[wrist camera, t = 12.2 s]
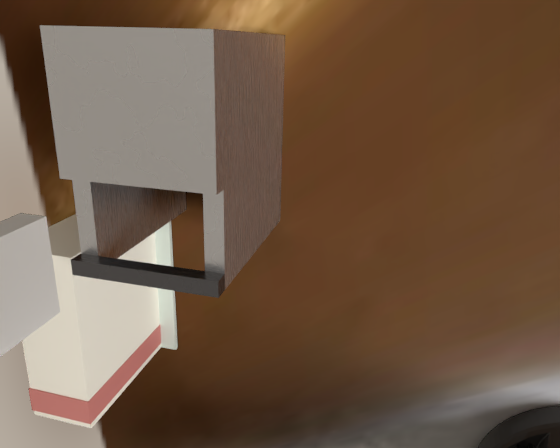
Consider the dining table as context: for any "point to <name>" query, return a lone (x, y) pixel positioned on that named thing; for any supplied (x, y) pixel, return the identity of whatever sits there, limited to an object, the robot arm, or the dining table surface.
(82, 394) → the pink-banded white block
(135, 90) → the dispenser
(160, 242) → the pad
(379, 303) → the dining table surface
